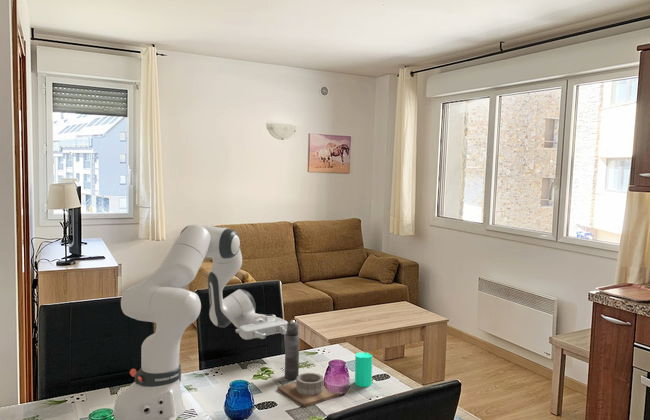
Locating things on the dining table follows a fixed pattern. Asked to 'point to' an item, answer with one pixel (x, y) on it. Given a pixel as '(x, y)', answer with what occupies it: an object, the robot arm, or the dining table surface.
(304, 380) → the ring holder
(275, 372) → the dining table surface
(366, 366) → the candle
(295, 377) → the pepper mill
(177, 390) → the robot arm
